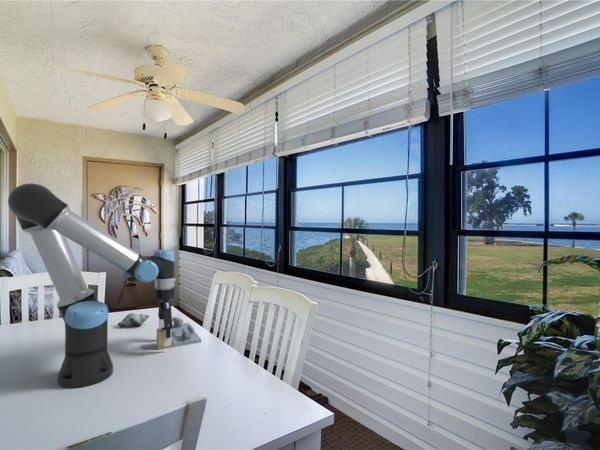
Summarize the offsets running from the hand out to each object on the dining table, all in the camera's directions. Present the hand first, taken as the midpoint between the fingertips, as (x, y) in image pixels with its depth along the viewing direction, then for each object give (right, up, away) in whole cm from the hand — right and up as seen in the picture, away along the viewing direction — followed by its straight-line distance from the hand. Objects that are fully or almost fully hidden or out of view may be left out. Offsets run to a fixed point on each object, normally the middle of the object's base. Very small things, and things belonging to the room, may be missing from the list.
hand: (165, 340), depth 136 cm
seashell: (-25, -2, +25) cm, 35 cm away
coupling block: (0, -3, 0) cm, 3 cm away
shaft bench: (+2, -3, +14) cm, 14 cm away
